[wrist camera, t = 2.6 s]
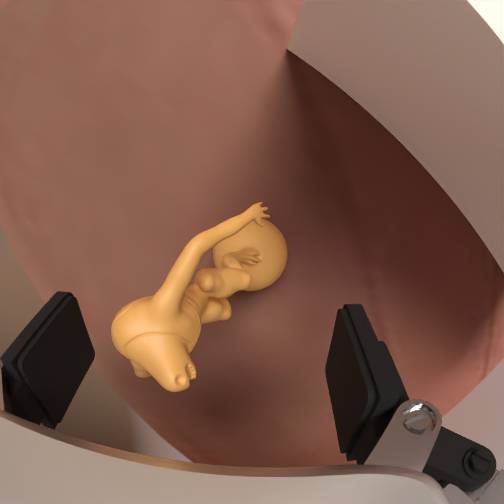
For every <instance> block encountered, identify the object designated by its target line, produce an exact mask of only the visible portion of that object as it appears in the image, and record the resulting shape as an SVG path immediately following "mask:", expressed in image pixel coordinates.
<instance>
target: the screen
mask: <svg viewBox="0 0 504 504" xmlns="http://www.w3.org/2000/svg"><path fill="white" fill-rule="evenodd" d="M287 49H288V50H289V51H291V52H292V53H294V54H295V55H296V56H298V57H299V58H301V59H302V60H304V61H305V62H306V63H308V64H309V65H310V66H312V67H313V68H315V69H316V70H317V71H319V72H320V73H321V74H323V75H324V76H325V77H327V78H328V79H329V80H330V81H332V82H333V83H334V84H335V85H337V86H338V87H339V88H340V89H342V90H343V91H344V92H345V93H347V94H348V95H349V96H350V97H351V98H353V99H354V100H355V101H356V102H357V103H358V104H360V105H361V106H362V107H363V108H364V109H365V110H366V111H368V112H369V113H370V114H371V115H372V116H373V117H374V118H375V119H376V120H377V121H379V122H380V123H381V124H382V125H383V126H384V127H385V128H386V129H387V130H388V131H389V132H390V133H391V134H392V135H393V136H394V137H395V138H396V139H397V140H398V141H399V142H400V143H401V144H402V145H403V146H404V147H405V148H406V149H407V150H408V151H409V152H410V153H411V154H412V155H413V156H414V157H415V158H416V159H417V160H418V161H419V162H420V164H421V165H422V166H423V167H424V168H425V169H426V170H427V171H428V172H429V173H430V175H431V176H432V177H433V178H434V179H435V180H436V181H437V183H438V184H439V185H440V186H441V187H442V188H443V190H444V191H445V192H446V193H447V195H448V196H449V197H450V198H451V199H452V201H453V202H454V203H455V204H456V206H457V207H458V208H459V209H460V211H461V212H462V213H463V215H464V216H465V217H466V219H467V220H468V221H469V223H470V224H471V225H472V227H473V228H474V229H475V231H476V232H477V234H478V235H479V236H480V238H481V239H482V241H483V242H484V244H485V245H486V247H487V248H488V249H489V251H490V252H491V254H492V256H493V257H494V259H495V260H496V262H497V263H498V265H499V266H500V268H501V270H502V271H503V273H504V0H302V3H301V6H300V9H299V12H298V15H297V18H296V22H295V25H294V28H293V31H292V34H291V37H290V40H289V43H288V46H287Z"/></svg>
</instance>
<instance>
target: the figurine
mask: <svg viewBox="0 0 504 504" xmlns="http://www.w3.org/2000/svg"><path fill="white" fill-rule="evenodd" d="M262 204H263V202H259V203H257V204H254V205H252V206H251V207H250V208H248V209H247V210H246V211H245V212H244V213H242V214H240V215H238V216H235V217H232V218H230V219H228V220H226V221H224V222H222V223H220V224H218V225H217V226H215V227H213V228H211V229H209V230H206V231H204V232H202V233H200V234H198V235H197V236H195V237H194V238H193V239H192V240H190V242H189V243H188V244H187V245H186V247H185V248H184V249H183V251H182V253H181V254H180V256H179V257H178V259H177V261H176V262H175V264H174V266H173V267H172V269H171V271H170V272H169V274H168V276H167V278H166V280H165V282H164V284H163V285H162V287H161V288H160V289H159V290H158V291H157V293H156V294H155V295H154V296H148V297H144V298H140V299H137V300H135V301H133V302H131V303H129V304H127V305H126V306H124V307H123V308H122V309H121V310H120V311H119V312H118V313H117V315H116V316H115V318H114V320H113V323H112V326H111V335H112V340H113V343H114V345H115V347H116V349H117V350H118V351H119V352H120V353H121V354H122V355H124V356H125V357H127V358H128V359H130V360H131V363H132V365H133V367H134V371H135V374H136V375H137V376H138V377H140V378H146V377H149V376H151V375H152V376H153V377H154V378H155V379H156V380H157V381H158V383H159V384H160V385H161V386H162V387H164V388H165V389H166V390H168V391H171V392H178V391H182V390H185V389H187V388H188V387H189V386H190V382H189V380H193V379H194V378H196V368H195V365H194V364H193V362H192V360H191V358H190V356H189V354H190V353H191V351H192V350H193V348H194V346H195V344H196V342H197V340H198V338H199V335H200V331H201V325H202V324H205V323H210V322H214V321H218V320H227V319H229V318H230V316H231V307H230V304H229V302H228V300H227V297H229V296H231V295H232V294H233V293H235V292H237V291H239V290H245V291H256V290H260V289H263V288H266V287H268V286H270V285H271V284H273V283H274V282H275V281H276V280H277V279H278V278H279V277H280V275H281V274H282V272H283V270H284V268H285V266H286V262H287V256H288V252H287V245H286V241H285V239H284V237H283V235H282V233H281V232H280V230H279V229H278V228H277V227H276V226H275V225H274V224H272V223H271V222H269V221H267V220H265V219H263V218H269V217H270V216H269V215H266V214H264V213H263V211H266V210H268V208H267V207H263V208H261V207H260V205H262ZM212 248H213V260H214V264H215V267H216V268H204V269H201V270H200V271H198V273H197V274H196V276H195V279H194V284H193V285H191V286H189V284H190V282H191V280H192V277H193V275H194V273H195V271H196V269H197V266H198V264H199V261H200V259H201V257H202V255H203V254H205V253H206V252H207V251H209V250H210V249H212ZM188 286H189V287H188ZM208 297H209V298H208Z"/></svg>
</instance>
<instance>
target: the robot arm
mask: <svg viewBox="0 0 504 504" xmlns="http://www.w3.org/2000/svg"><path fill="white" fill-rule="evenodd" d="M94 357H95V352H94V348H93V346H92V343H91V340H90V338H89V335H88V332H87V329H86V326H85V323H84V320H83V317H82V314H81V311H80V308H79V305H78V301H77V299H76V298H75V297H74V296H73V294H72V293H70V292H61V291H59V292H56V293H55V294H54V295H53V297H52V298H51V299H50V300H49V301H48V302H47V303H46V304H45V305H44V307H43V308H42V309H41V310H40V311H39V312H38V313H37V314H36V316H35V317H34V318H33V319H32V320H31V321H30V322H29V324H28V325H27V326H26V327H25V328H24V330H23V331H22V332H21V333H20V334H19V336H18V337H17V338H16V339H15V341H14V342H13V343H12V344H11V345H10V347H9V348H8V349H7V350H6V352H5V353H4V354H3V355H2V357H1V358H0V359H1V361H2V363H3V367H2V368H1V366H0V504H504V470H503V469H501V470H500V471H498V470H497V469H496V459H495V457H494V455H493V453H492V452H491V451H490V450H489V449H488V448H486V447H484V446H482V445H480V444H478V443H476V442H474V441H472V440H469V439H467V438H465V437H463V436H461V435H459V434H457V433H454V432H452V431H450V430H448V429H446V428H444V427H442V426H441V424H442V419H441V414H440V413H439V411H438V409H437V408H436V407H435V406H434V405H433V404H431V403H429V402H427V401H424V400H421V399H412V400H409V397H408V395H407V392H406V390H405V387H404V385H403V383H402V380H401V378H400V376H399V373H398V371H397V369H396V366H395V364H394V362H393V359H392V357H391V355H390V353H389V350H388V348H387V346H386V344H385V343H384V342H383V341H378V339H377V337H376V335H375V333H374V330H373V328H372V326H371V324H370V321H369V319H368V317H367V315H366V313H365V310H364V308H363V306H362V305H361V304H345V305H344V306H343V309H338V312H337V316H336V321H335V326H334V331H333V336H332V340H331V345H330V349H329V354H328V358H327V362H326V369H325V372H326V379H327V384H328V389H329V394H330V399H331V404H332V409H333V414H334V420H335V425H336V430H337V436H338V442H339V447H340V451H341V453H346V457H347V461H352V460H357V465H336V466H315V467H238V466H222V465H210V464H200V463H191V462H183V461H176V460H169V459H163V458H157V457H151V456H146V455H140V454H136V453H131V452H127V451H122V450H118V449H113V448H110V447H106V446H102V445H98V444H95V443H91V442H88V441H84V440H81V439H78V438H75V437H71V436H68V435H65V434H62V433H59V432H56V431H54V430H51V429H55V428H56V426H57V423H60V422H61V421H62V419H63V417H64V415H65V413H66V411H67V409H68V407H69V405H70V403H71V401H72V399H73V397H74V395H75V393H76V391H77V389H78V388H79V386H80V384H81V382H82V380H83V378H84V376H85V374H86V373H87V371H88V369H89V367H90V365H91V364H92V362H93V360H94ZM40 423H42V424H43V425H44V426H46V427H49V428H51V429H48V428H45V427H43V426H40Z"/></svg>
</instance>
